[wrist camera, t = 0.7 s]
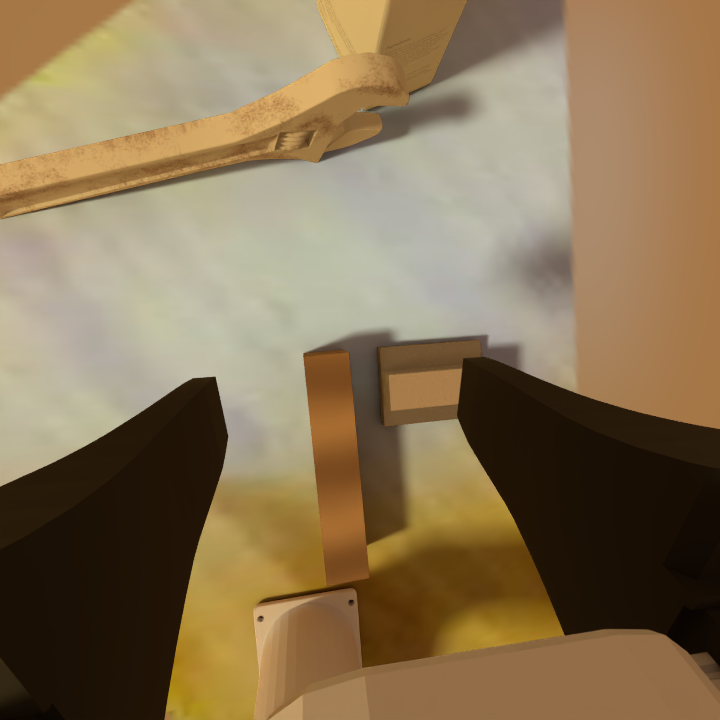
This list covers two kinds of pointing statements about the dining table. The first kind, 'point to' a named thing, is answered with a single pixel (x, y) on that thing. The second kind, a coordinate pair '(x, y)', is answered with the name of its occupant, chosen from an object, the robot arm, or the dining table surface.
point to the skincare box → (394, 32)
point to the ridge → (422, 380)
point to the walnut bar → (336, 465)
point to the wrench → (218, 137)
